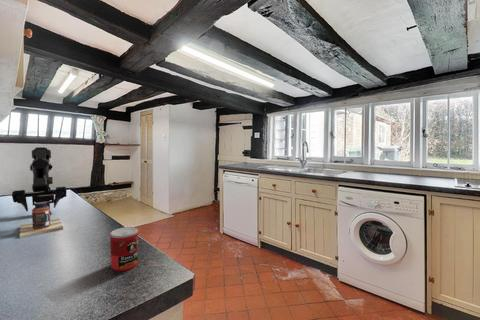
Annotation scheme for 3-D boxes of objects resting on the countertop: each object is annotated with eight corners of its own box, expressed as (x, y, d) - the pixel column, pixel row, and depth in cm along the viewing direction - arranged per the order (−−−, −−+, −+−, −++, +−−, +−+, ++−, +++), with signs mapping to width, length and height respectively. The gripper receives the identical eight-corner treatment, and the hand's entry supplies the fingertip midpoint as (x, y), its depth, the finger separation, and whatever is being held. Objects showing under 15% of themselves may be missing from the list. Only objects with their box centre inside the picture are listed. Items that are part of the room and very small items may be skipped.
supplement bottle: (52, 226, 100) (51, 202, 100) (35, 230, 95) (34, 205, 95) (47, 224, 103) (46, 200, 103) (30, 228, 98) (29, 203, 98)
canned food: (120, 274, 64) (119, 237, 63) (105, 267, 68) (104, 232, 68) (143, 263, 70) (143, 229, 70) (129, 257, 75) (128, 225, 74)
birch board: (20, 227, 103) (20, 224, 103) (58, 220, 113) (58, 218, 113) (19, 238, 90) (19, 235, 90) (63, 229, 100) (63, 227, 100)
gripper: (11, 172, 96) (8, 202, 88) (65, 170, 108) (67, 196, 101) (14, 187, 103) (12, 216, 95) (65, 184, 115) (67, 209, 107)
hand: (41, 209), depth 99 cm, fingers open, 9 cm apart
